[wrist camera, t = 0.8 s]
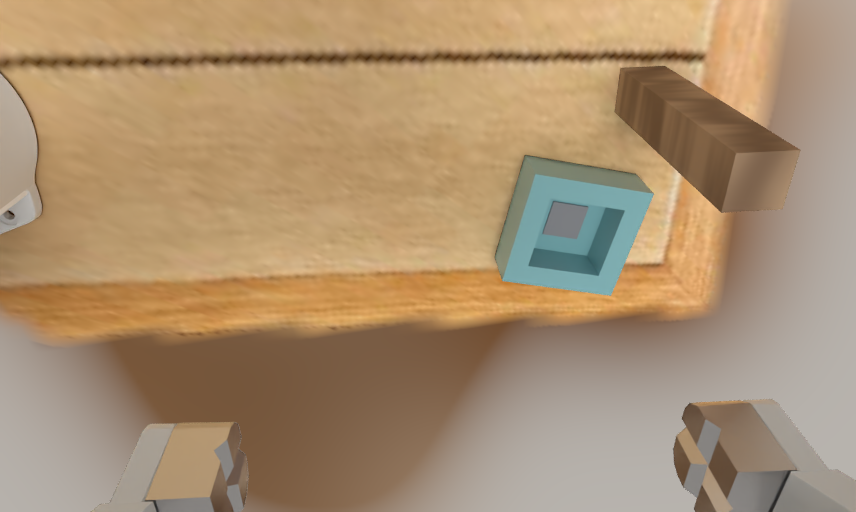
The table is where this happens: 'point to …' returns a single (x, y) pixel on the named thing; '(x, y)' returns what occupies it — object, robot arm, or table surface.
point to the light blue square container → (570, 225)
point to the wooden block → (707, 140)
